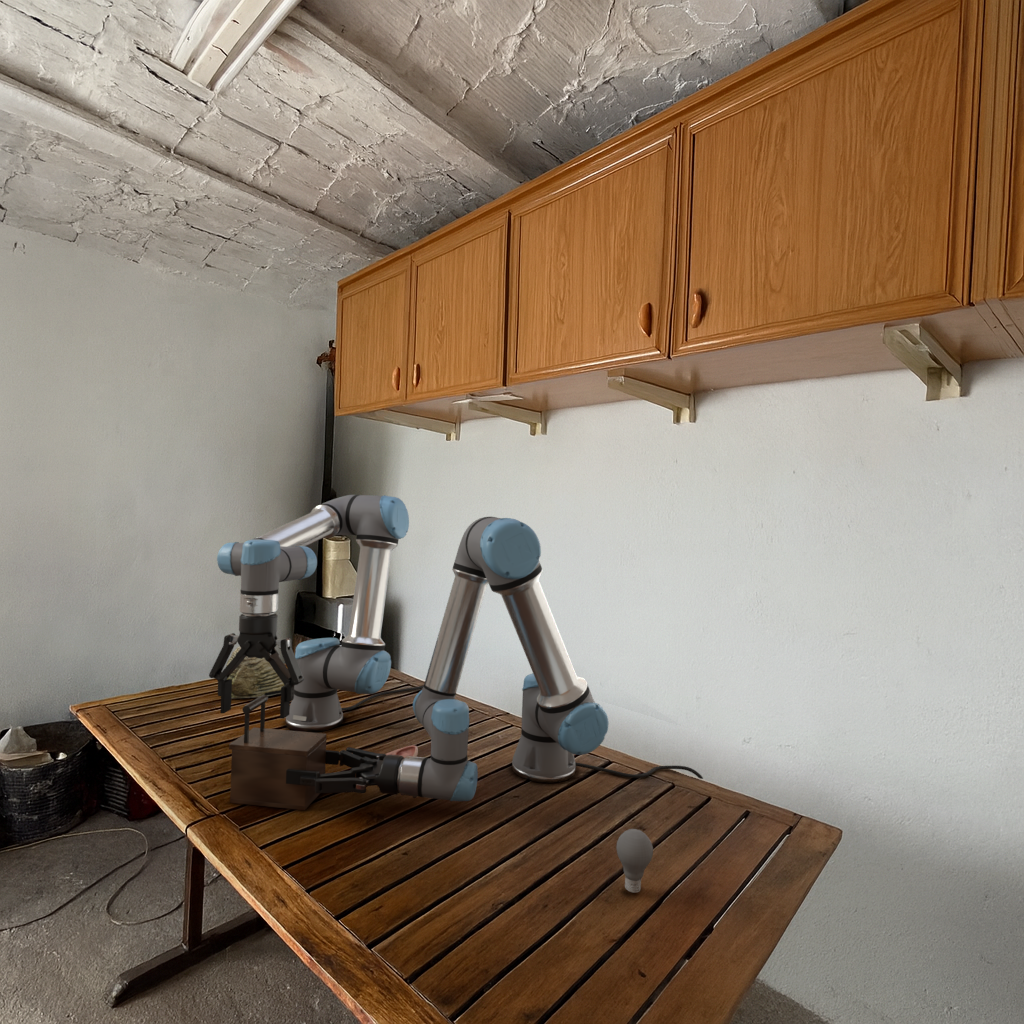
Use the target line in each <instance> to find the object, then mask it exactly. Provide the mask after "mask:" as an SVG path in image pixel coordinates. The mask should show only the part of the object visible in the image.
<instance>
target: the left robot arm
mask: <svg viewBox="0 0 1024 1024" xmlns="http://www.w3.org/2000/svg"><path fill="white" fill-rule="evenodd" d="M409 527H410V517H409V511H408V509H407V506H406V504H405V502H404V501H403V500H402V499H400V497H396V496H391V495H374V494H373V495H372V494H371V495H370V494H369V495H368V494H347V495H343V496H340V497H337V498H336V497H335V498H333V499H331V500H327V501H326V502H322V503H321V504H319V505H316V506H315V507H313V508H312V510H311V511H310V512H309V513H307V514H304V515H303V516H301V517H298V518H297V519H296V518H295V519H294V520H292V521H290V522H287V523H284V524H282V525H281V526H278V527H276V528H274V529H271V530H270V531H267V532H265V533H262V534H260V535H258V536H256V537H254V538H252V539H248V540H246V541H244V542H239V541H235V542H234V541H233V542H227V543H224V544H223V545H222V546H221V547H220V549H219V550H218V552H217V556H216V561H217V566H218V569H219V570H220V571H221V572H222V573H224V574H227V575H231V576H235V577H239V576H240V590H239V591H240V593H239V594H240V595H239V612H240V613H241V614H240V615H239V618H238V631H239V634H237V635H236V633H234V632H232V633H228V634H227V635H225V636H224V637H223V645H222V647H221V650H220V651H219V653H218V656H217V658H216V660H215V661H214V663H213V665H212V667H211V669H210V670H209V673H208V676H209V678H210V679H215V680H216V681H217V696H218V697H220V714H226V713H228V712H229V711H231V710H232V698H231V693H232V679H228V680H227V678H229V676H230V675H231V674H232V673H233V671H234V670H235V669H236V668H237V667H238V665H239V664H240V663H241V662H242V661H243V660H244V658H245V657H246V656H248V658H253V657H256V658H260V659H262V658H265V660H266V661H267V662H269V663H270V665H271V666H272V667H273V669H274V670H275V672H276V673H277V675H278V676H279V678H280V679H281V681H282V682H283V683H284V686H283V687H281V693H280V704H279V705H280V706H279V712H280V713H279V719H280V720H284V719H285V726H286V728H287V729H289V730H291V731H301V732H312V733H319V732H325V731H329V730H332V729H335V728H337V727H339V726H340V725H342V723H343V722H344V713H343V712H345V711H351V710H353V709H356V708H357V707H359V706H361V705H362V704H364V703H366V702H368V701H370V700H372V699H375V698H377V697H381V696H385V695H391V694H397V693H404V692H411V691H417V690H422V689H423V686H424V684H423V685H420V686H419V685H418V686H413V687H406V688H400V689H395V690H387V691H382V692H379V691H380V690H381V689H382V688H383V687H384V685H385V684H386V682H387V680H388V678H389V676H390V672H391V668H392V659H391V654H390V653H389V652H387V651H386V650H385V647H386V643H385V642H384V641H383V639H382V627H383V620H384V613H385V604H386V597H387V591H388V590H387V589H388V583H389V574H390V567H391V558H392V553H393V551H394V550H395V549H396V548H397V547H399V540H401V539H404V538H405V537H406V535H407V533H408V532H409ZM342 535H343V536H344V535H345V536H356V538H355V542H356V543H357V545H358V546H359V548H360V549H359V555H358V563H357V569H356V577H355V585H354V591H353V598H352V599H353V600H352V605H351V615H350V620H349V629H348V633H347V635H346V636H344V638H342V639H341V641H340V639H339V638H337V637H321V638H313V639H307V640H304V641H302V642H299V643H298V644H297V645H296V647H295V652H294V650H293V648H292V638H291V637H290V636H287V637H284V638H278V636H277V631H278V617H279V616H278V614H277V612H278V611H279V586H280V583H283V582H290V581H300V580H303V579H306V578H309V577H311V576H312V575H314V573H315V572H316V569H317V566H318V558H317V555H316V553H315V551H314V550H312V548H310V547H308V546H310V545H312V544H314V543H317V542H318V541H319V540H322V539H331V538H334V537H336V536H342ZM237 644H238V645H239V646H238V647H241V649H240V650H239V651H238V653H237V654H236V655H235V657H234V658H233V659H232V661H231V662H230V663H229V664H228V665H227V662H228V660H229V659H230V657H231V655H232V653H233V651H234V650H233V649H234V647H235V645H237ZM340 644H341V645H340ZM277 646H278V649H280V653H281V655H282V658H283V660H284V661H283V660H282V658H281V657H280V656H279V655H280V654H279V652H278V651H277V649H276V647H277ZM225 665H227V666H225ZM338 691H344V692H351V693H356V694H358V695H362V694H363V695H370V696H368V697H366V698H364V699H362V700H360V701H359V702H356V703H355V704H353V705H351V706H346V707H342V706H341V702H340V699H339V695H338Z"/></svg>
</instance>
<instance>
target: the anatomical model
mask: <svg viewBox="0 0 1024 1024" xmlns="http://www.w3.org/2000/svg"><path fill="white" fill-rule="evenodd" d="M385 754H386V755H400V756H403V757H404V758H405V757H406V756H414V757H418V755H419V748H418V746H417V745H412V744H411V745H407V746H404V747H401V748H400V747H399V748H398V749H394V750H391V751H389V752H387V753H385Z"/></svg>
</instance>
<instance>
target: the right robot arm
mask: <svg viewBox="0 0 1024 1024" xmlns="http://www.w3.org/2000/svg"><path fill="white" fill-rule="evenodd" d="M541 555H542V546H541V542H540V538H539V537H538V535H537V533H536V532H535V531H534V530H533V528H532V527H531V526H529V525H528V524H527V523H524V522H522V521H520V520H518V519H516V518H510V517H497V516H484V517H483V516H482V517H480V518H478V519H476V520H475V521H472V522H471V523H470V524H469V525H468V526H467V528H466V529H465V531H464V532H463V535H462V537H461V539H460V542H459V544H458V548H457V552H456V555H455V558H454V562H453V566H452V569H451V570H452V572H453V574H454V578H453V581H452V586H451V588H450V592H449V595H448V599H447V603H446V607H445V610H444V613H443V617H442V621H441V624H440V628H439V631H438V634H437V637H436V641H435V646H434V648H433V651H432V656H431V659H430V663H429V667H428V670H427V673H426V676H425V680H424V683H423V685H424V686H423V685H422V686H423V688H422V689H420V691H419V692H418V693H417V694H416V695H415V696H414V699H413V701H412V711H413V713H414V716H415V718H416V720H417V722H418V723H420V725H421V726H422V727H423V728H424V730H425V731H426V733H427V734H428V736H429V737H430V758H429V757H424V756H417V757H414V756H406V757H405V758H404V757H403V756H400V755H386V753H379V752H378V753H377V752H372V751H368V750H363V749H360V748H355V747H351V746H348V747H346V748H345V749H342V750H340V751H338V750H329V749H326V764H325V765H332V766H338V765H339V767H343V766H346V767H348V768H350V770H343V771H342V770H341V771H336V772H325V774H320V772H319V771H306V770H295V769H287V770H286V784H295V785H305V786H315V793H320V794H342V793H343V794H344V793H346V794H347V793H356V794H366V793H367V788H368V787H372V786H374V787H375V786H377V788H378V790H379V792H380V793H381V794H383V795H393V796H397V795H399V794H400V795H401V796H406V797H412V798H413V799H417V798H426V799H435V800H444V801H449V802H470V801H471V800H473V799H474V797H475V795H476V791H477V786H478V777H479V771H478V770H479V769H478V764H477V763H476V762H474V761H471V760H468V759H469V757H468V750H469V749H468V747H469V730H470V729H469V728H470V722H471V721H470V711H469V710H470V708H469V705H468V704H467V703H466V702H465V701H462V700H460V699H456V695H457V691H458V688H459V684H460V680H461V678H462V674H463V670H464V666H465V664H466V660H467V657H468V652H469V650H470V646H471V643H472V639H473V637H474V632H475V628H476V625H477V622H478V619H479V615H480V612H481V609H482V608H481V607H482V605H483V601H484V597H485V594H486V591H487V587H488V586H489V588H490V590H491V592H493V593H496V594H498V595H500V596H501V598H502V600H503V601H502V602H503V603H504V605H505V608H506V611H507V612H508V613H507V614H508V615H509V618H510V620H511V622H512V625H513V627H514V630H515V633H516V635H517V637H518V640H519V642H520V645H521V647H522V649H523V652H524V655H525V657H526V659H527V663H528V665H529V666H530V669H531V671H532V673H529V674H526V675H525V677H524V679H523V685H522V689H521V691H522V701H521V702H522V703H521V728H520V729H521V731H520V737H519V740H518V743H517V745H516V748H515V750H514V754H513V755H512V756H513V757H512V760H511V761H512V762H511V769H512V771H513V772H514V773H515V774H516V775H517V776H519V777H521V778H523V779H525V780H529V781H532V782H537V783H559V782H564V781H567V780H570V779H571V778H572V777H574V776H575V774H576V768H577V767H580V768H584V769H590V770H594V771H598V772H603V773H608V774H611V775H615V776H619V777H622V778H623V777H624V778H629V779H641V778H642V779H644V778H646V777H649V776H650V775H652V774H653V773H655V772H657V771H661V770H681V771H682V770H683V771H688V772H690V773H692V774H694V775H695V776H696V777H697V778H698V779H700V780H703V779H704V777H703V776H702V775H701V773H699V772H698V770H695V769H693V768H691V767H689V766H687V765H686V766H685V765H658V766H659V767H658V766H654V767H652V768H651V769H650V770H648V771H646V772H644V773H635V774H632V773H625V772H622V771H617V770H613V769H610V768H605V767H601V766H596V765H591V764H586V763H581V762H576V759H575V755H577V756H583V755H588V754H590V753H591V752H594V751H595V750H596V749H597V748H599V747H600V746H601V744H602V743H603V742H604V740H605V737H606V735H607V733H608V732H609V724H610V723H609V717H608V714H607V711H606V710H605V709H604V708H603V706H602V705H601V704H599V703H598V702H596V701H595V699H594V697H593V694H592V692H591V690H590V687H589V684H588V682H587V680H586V679H585V678H584V677H582V676H578V675H577V673H576V670H575V668H574V665H573V663H572V660H571V658H570V656H569V655H570V654H569V653H568V650H567V648H566V645H565V642H564V640H563V637H562V635H561V632H560V629H559V627H558V625H557V622H556V620H555V617H554V615H553V612H552V610H551V607H550V605H549V602H548V599H547V597H546V594H545V592H544V590H543V587H542V584H541V581H540V577H541V575H542V573H543V571H544V570H543V567H542V565H541V562H540V558H541Z"/></svg>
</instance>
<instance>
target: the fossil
mask: <svg viewBox="0 0 1024 1024" xmlns="http://www.w3.org/2000/svg"><path fill="white" fill-rule="evenodd" d="M240 649H241V647H240V646H238V647H237V648H236V649H235V650H233V651H232V652H231V654H230V656H229V658H228V660H227V662H226V664H225V665H226V666H227V665H228V664H229V663H230V662H231V661H232V659H233V658H234V657H235V655H236V654H237V653H238V651H239V650H240ZM226 666H225V667H226ZM228 679H232V693H231V699H250V698H259V697H260V696H262V695H266V696H267V697H271V696H275V695H281V687H283V686H284V683H283V682H282V681H281V679H280V678H279V676H278V675H277V673H276V672H275V670H274V669H273V667H272V666H271V665H270V663H269V662H267V661H266V660H265V658H262V659H260V658H256V657H253V658H248V656H246V657H245V658H244V660H243V661H242V662H241V663H240V664H239V665H238V667H237V668H236V669H235V670H234V671H233V673H232V674H231V675H230V676H229V678H227V680H228Z"/></svg>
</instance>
